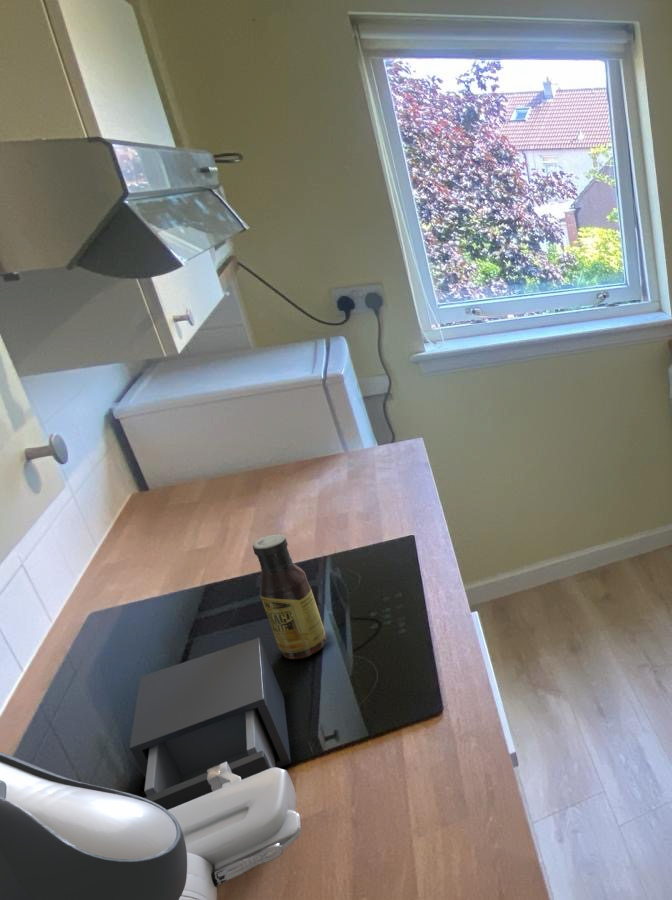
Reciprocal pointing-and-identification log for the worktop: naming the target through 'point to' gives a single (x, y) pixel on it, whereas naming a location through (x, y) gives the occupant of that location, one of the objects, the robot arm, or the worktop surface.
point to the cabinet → (209, 699)
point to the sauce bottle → (288, 600)
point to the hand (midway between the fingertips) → (155, 795)
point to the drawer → (207, 758)
